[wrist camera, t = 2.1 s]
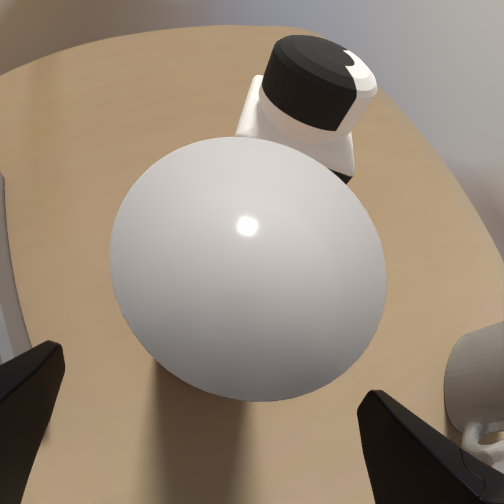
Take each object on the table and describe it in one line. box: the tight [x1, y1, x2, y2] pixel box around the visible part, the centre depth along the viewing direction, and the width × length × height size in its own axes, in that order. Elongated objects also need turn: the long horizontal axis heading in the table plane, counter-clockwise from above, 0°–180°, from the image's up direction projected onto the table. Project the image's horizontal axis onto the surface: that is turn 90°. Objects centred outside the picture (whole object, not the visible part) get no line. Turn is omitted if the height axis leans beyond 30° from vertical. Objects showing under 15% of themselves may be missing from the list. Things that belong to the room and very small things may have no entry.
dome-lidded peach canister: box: [109, 137, 387, 402], centre depth 12 cm, size 6×6×13 cm
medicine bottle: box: [235, 35, 377, 184], centre depth 18 cm, size 7×7×12 cm
